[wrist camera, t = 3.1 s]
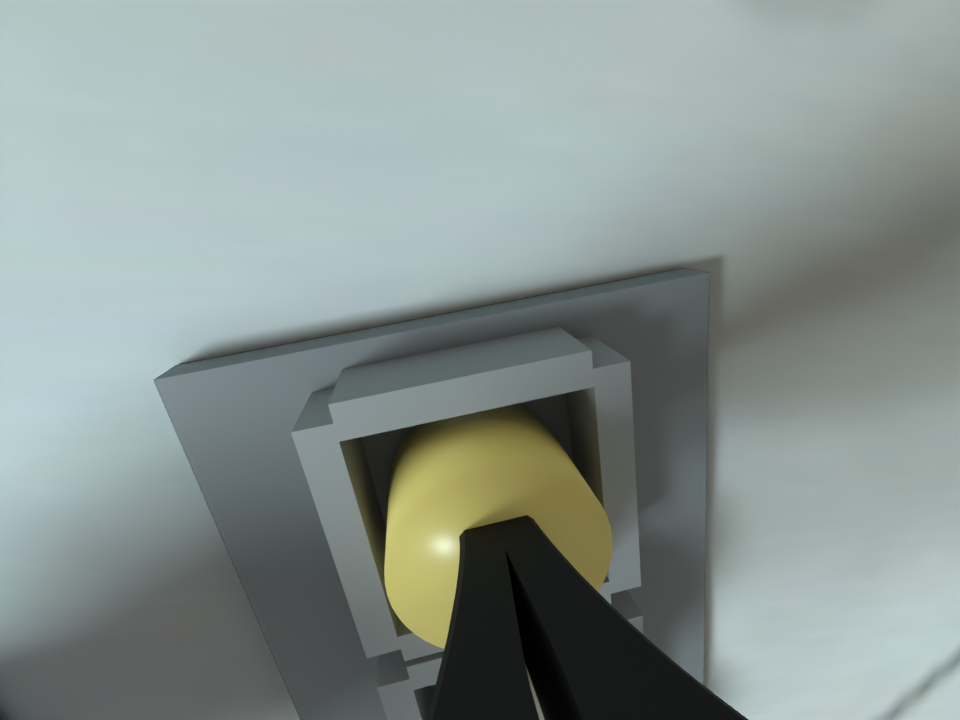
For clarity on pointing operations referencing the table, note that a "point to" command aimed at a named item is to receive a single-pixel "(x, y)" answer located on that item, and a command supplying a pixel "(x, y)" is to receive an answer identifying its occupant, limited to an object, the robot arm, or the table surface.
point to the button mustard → (480, 506)
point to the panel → (436, 396)
